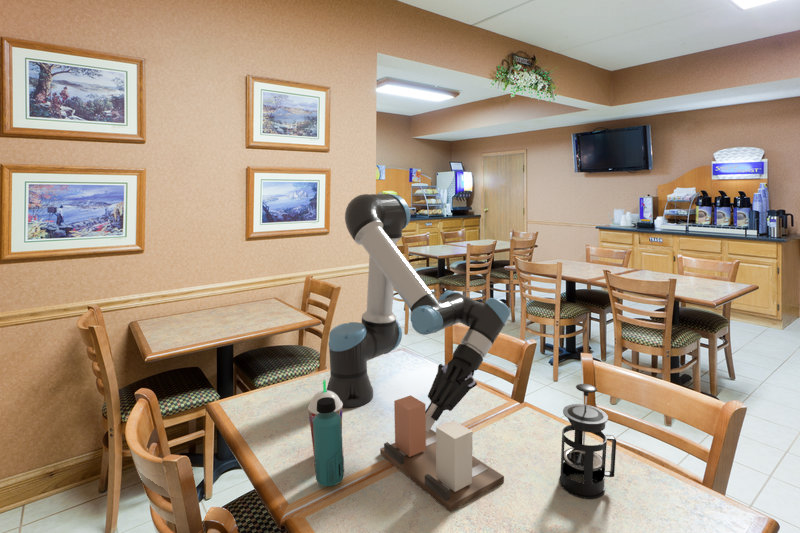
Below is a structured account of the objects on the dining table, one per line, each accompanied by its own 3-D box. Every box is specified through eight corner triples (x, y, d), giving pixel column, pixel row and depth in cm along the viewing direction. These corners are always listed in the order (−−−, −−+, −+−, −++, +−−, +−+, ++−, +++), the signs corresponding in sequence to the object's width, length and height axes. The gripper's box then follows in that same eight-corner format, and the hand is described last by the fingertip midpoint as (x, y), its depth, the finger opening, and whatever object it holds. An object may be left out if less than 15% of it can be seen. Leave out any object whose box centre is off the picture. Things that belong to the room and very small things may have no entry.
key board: (429, 433, 121) (429, 421, 120) (503, 482, 100) (504, 467, 99) (380, 454, 112) (380, 441, 111) (450, 512, 91) (450, 496, 90)
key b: (411, 439, 114) (410, 395, 113) (425, 449, 110) (425, 403, 108) (395, 446, 112) (394, 400, 110) (409, 457, 107) (408, 409, 105)
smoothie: (350, 451, 113) (347, 376, 110) (335, 470, 106) (331, 389, 102) (321, 445, 116) (317, 372, 113) (304, 463, 108) (299, 385, 105)
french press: (560, 497, 95) (565, 394, 91) (552, 470, 104) (555, 376, 100) (619, 501, 93) (626, 397, 89) (605, 474, 102) (611, 378, 99)
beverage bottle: (342, 493, 97) (339, 406, 94) (312, 493, 97) (307, 407, 94) (346, 474, 104) (343, 393, 101) (318, 474, 104) (314, 393, 101)
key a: (453, 469, 102) (453, 420, 100) (472, 482, 97) (472, 431, 95) (436, 477, 99) (436, 427, 97) (454, 492, 94) (454, 438, 92)
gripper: (497, 365, 115) (448, 446, 108) (462, 351, 126) (415, 425, 119) (482, 349, 112) (431, 433, 105) (447, 337, 122) (399, 412, 115)
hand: (423, 428), depth 112 cm, fingers closed
